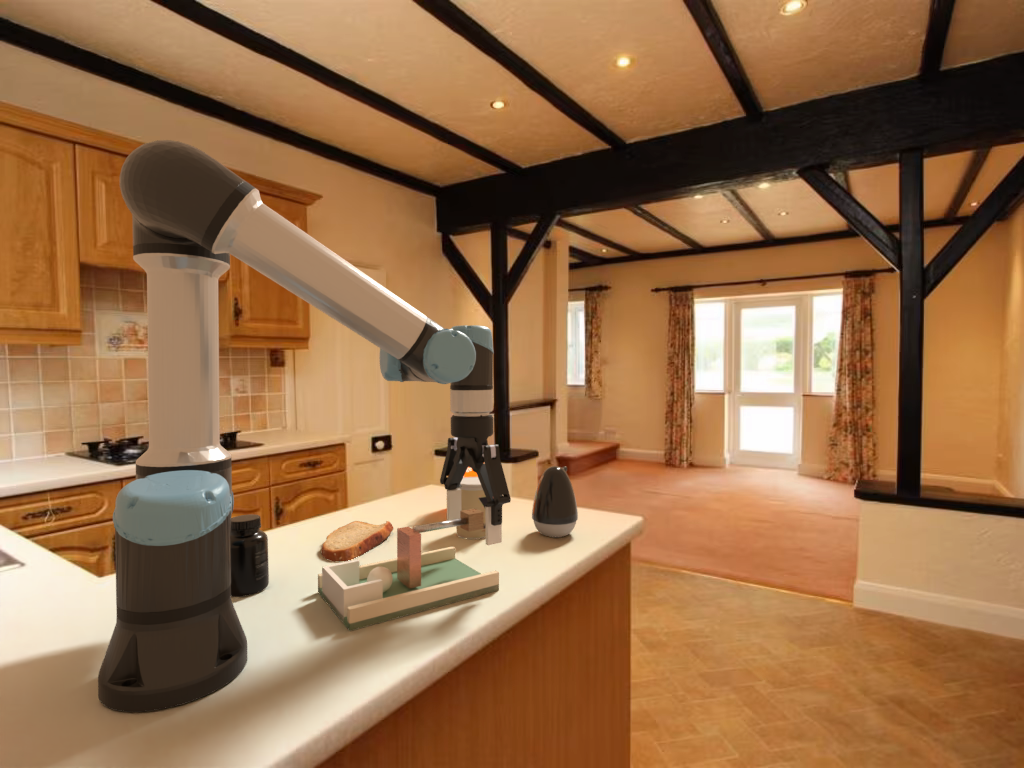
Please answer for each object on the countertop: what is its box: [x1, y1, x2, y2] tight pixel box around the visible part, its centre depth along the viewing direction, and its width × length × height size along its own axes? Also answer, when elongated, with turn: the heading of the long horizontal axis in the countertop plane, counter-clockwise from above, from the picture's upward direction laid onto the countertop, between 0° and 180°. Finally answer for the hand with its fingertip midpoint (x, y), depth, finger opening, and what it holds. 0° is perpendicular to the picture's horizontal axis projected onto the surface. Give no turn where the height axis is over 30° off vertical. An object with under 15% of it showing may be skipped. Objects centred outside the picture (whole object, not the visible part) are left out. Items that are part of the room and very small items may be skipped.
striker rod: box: [396, 509, 484, 589], centre depth 93 cm, size 14×5×10 cm, turn 125°
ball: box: [367, 567, 393, 592], centre depth 87 cm, size 4×4×4 cm
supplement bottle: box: [231, 513, 270, 598], centre depth 90 cm, size 7×7×12 cm
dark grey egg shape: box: [531, 465, 579, 538], centre depth 121 cm, size 10×10×15 cm
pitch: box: [317, 546, 500, 632], centre depth 90 cm, size 25×16×5 cm, turn 125°
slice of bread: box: [320, 520, 394, 562], centre depth 115 cm, size 18×18×4 cm
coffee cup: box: [455, 477, 488, 540], centre depth 121 cm, size 9×9×12 cm
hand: (472, 533), depth 96 cm, fingers open, 13 cm apart
